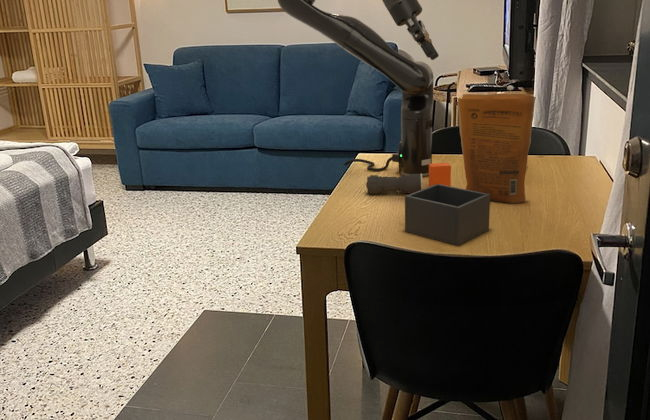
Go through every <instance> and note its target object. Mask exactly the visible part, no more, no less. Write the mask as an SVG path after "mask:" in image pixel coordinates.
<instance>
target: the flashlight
mask: <svg viewBox="0 0 650 420" xmlns="http://www.w3.org/2000/svg"><path fill="white" fill-rule="evenodd" d="M423 183H424V182H423V176H422V174H410V175H402V174H400V175H399V176H387V175H386V176H382V175H379V176H378V175H377V174H374V175H369V176H367V177H366V184H365V185H366V186H365V187H366V189H367V194H370V195H378V194H382V193H397V192H400V193H401V194H412V193H414V192H417V191H420V190H422V189H424V187H423V186H424V185H423Z"/></svg>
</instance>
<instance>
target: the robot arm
mask: <svg viewBox="0 0 650 420" xmlns="http://www.w3.org/2000/svg"><path fill="white" fill-rule="evenodd" d="M315 2H316V0H277V3H278V5H279V8H281V10H282V11H283V12H285V14H287V15H289V16H290V17H292V18H293V19H295V20H297V21H299V22H300V23H302V24H304V25H306V26H308V27H309V28H311V29H312V30H315V31H316V32H318V33H319V34H321V35H322V36H324V37H326V38H327V39H329V40H331V41H332V42H334V43H335V44H336V45H338V46H339V47H340V48H341V49H344V51H346V52H347V53H349V54H350V55H352V56H353V57H355V58H356V59H358V60H360V61H361V62H363V63H364V64H366V65H368V66H369V67H371V68H373V69H375V70H376V71H378V72H379V73H380V74H382V75H384V76H385V78H387V79H388V80H389V81H391V82H392V83H393V84H394V85H396V87H398V88H399V89H400V90H401V91H402V92H401V107H400V141H399V142H398V147H397V148H398V149H397V150H398V151H397V152H395V153H392V154H391V157H389V158H388V159H387V160H386V162H385V165H384V166H383V167H379V168H378V167H377V168H376V167H374V166H375V162H374V161H371V160H366V159H363V158H362V159H361V158H352V159H348V160H347V161H346V162H344V163H343V166H347V165H349V164H351V163H364V164H368V165H367V167H366V169H367V171H370V172H381V171H385V170H387V169H388V167H389V165H390V162H392V163H393V162H394V163H397V164H398V173H399V174H400V175H410V174H422V177H429V164H433V109H434V72H433V70H432V68H431V66H429V64H428V63H426V62H424V61H420V60H419V61H418V60H416V61H413V60H411V59H409V58H408V57H405V56H404V55H402V54H400V53H399V52H398V51H396V50H395V49H393V47H391V46H390V45H389V44H388V43H387V41H386V40H385V39H383V37H382V36H381V35H380V34H379V33H378V32H376V31H375V30H374V29H372V27H370V26H369V25H367V24H366V23H364V22H363V21H361V19H358V18H356V17H354V16H351V15H350V16H349V15H344V14H338V13H331V12H327V11H324V10H322V9H320V8H319V7H316V6H315V5H314V3H315ZM382 2H383V5H384V6H385V8H386V10H387V11H388V14H390V17H391V18H392V20H393V21H394V23H395V25H396V26H397V27H402V26H404V25H405V26H406V27H407V28H406V30H407V32H408V33H409V35H410V36H411V37H412V39H413V40H414V41H415V42H416V44H417V45H419V46H420V48H421V49H422V52H423V53H424V54H425V56H426V58H429V59H430V60H431V61H434V60H436V59H437V58H438V57H439V53H438V51H437V50H436V48H435V46H434V44H433V41H432V39H431V38H430V34H429V32H428V30H427V29H426V27H425V24H424V22H423V21H422V20H421V19H419V20H418V16H420V15H421V14H422V12H423V7H422V5H421V4H420V1H418V0H382Z"/></svg>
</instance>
